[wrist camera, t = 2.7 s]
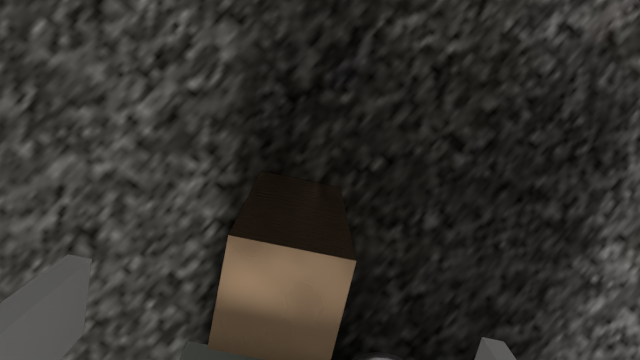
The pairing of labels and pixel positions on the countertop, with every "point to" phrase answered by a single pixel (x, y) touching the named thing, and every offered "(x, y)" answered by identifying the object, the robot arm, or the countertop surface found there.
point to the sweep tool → (284, 272)
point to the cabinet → (209, 353)
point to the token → (378, 356)
